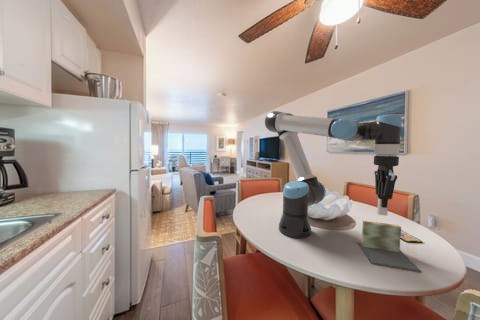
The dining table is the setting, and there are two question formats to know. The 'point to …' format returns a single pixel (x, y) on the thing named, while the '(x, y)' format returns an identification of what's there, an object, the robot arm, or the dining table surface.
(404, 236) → the smartphone
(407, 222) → the dining table surface
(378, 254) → the mat
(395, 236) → the tile
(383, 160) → the robot arm
